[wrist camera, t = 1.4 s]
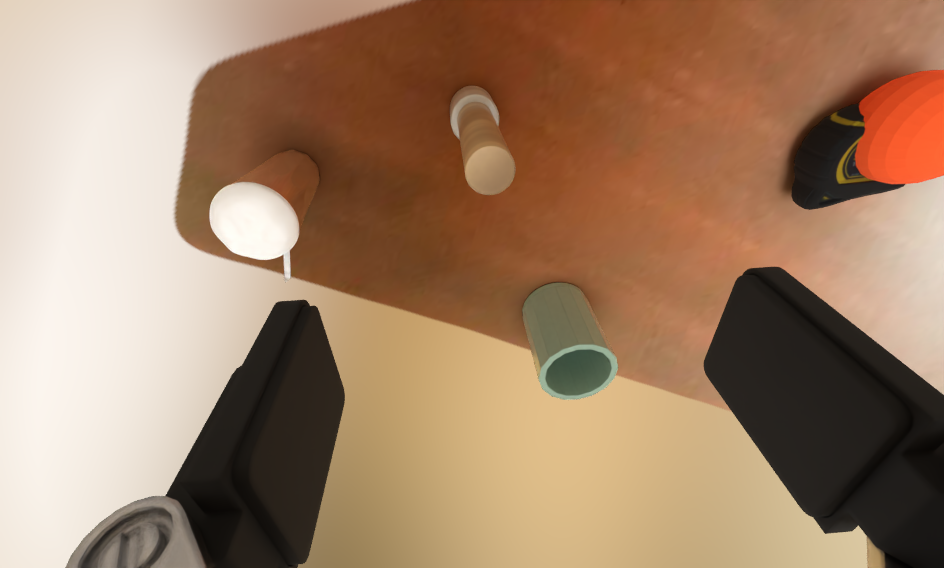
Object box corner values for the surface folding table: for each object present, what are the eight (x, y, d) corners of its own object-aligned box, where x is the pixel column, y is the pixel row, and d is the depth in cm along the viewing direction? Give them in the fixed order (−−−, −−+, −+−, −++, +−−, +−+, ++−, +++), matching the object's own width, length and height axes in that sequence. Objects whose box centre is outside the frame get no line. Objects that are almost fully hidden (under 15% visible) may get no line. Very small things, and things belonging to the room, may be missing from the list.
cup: (508, 309, 38) (523, 374, 31) (562, 270, 36) (590, 331, 29) (547, 343, 40) (568, 409, 34) (598, 308, 38) (632, 373, 32)
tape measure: (775, 198, 33) (810, 218, 30) (795, 109, 29) (837, 123, 26) (864, 177, 32) (909, 196, 29) (896, 85, 29) (952, 96, 25)
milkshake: (305, 221, 31) (258, 300, 23) (248, 163, 29) (171, 230, 20) (350, 189, 30) (318, 260, 22) (295, 126, 27) (234, 180, 19)
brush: (440, 108, 27) (441, 170, 18) (473, 74, 26) (494, 120, 17) (470, 142, 29) (486, 216, 19) (503, 111, 28) (538, 172, 18)
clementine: (954, 48, 27) (1095, 61, 22) (912, 150, 31) (1021, 185, 25) (831, 75, 28) (935, 96, 22) (804, 173, 32) (886, 212, 26)
